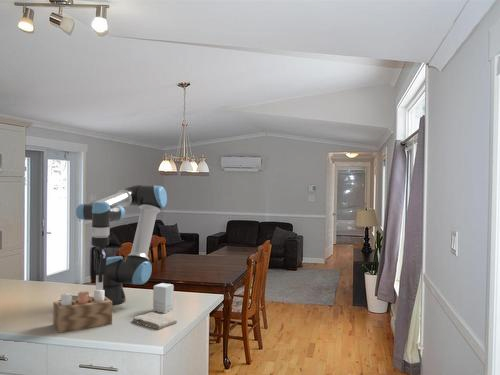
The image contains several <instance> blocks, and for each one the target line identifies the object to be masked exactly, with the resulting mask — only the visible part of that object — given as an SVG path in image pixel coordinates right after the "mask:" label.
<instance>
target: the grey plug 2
mask: <svg viewBox="0 0 500 375" xmlns="http://www.w3.org/2000/svg"><path fill="white" fill-rule="evenodd" d="M104 294H105V290H96V289H95V290H94V291H93V297H94V302H98V301H104Z"/></svg>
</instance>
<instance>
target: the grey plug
mask: <svg viewBox="0 0 500 375" xmlns="http://www.w3.org/2000/svg"><path fill="white" fill-rule="evenodd" d="M72 300H73V294H72V293H67V292H66V293H62V294H61V295H60V301H61V306H68V305H72Z"/></svg>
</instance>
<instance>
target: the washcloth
mask: <svg viewBox="0 0 500 375" xmlns="http://www.w3.org/2000/svg"><path fill="white" fill-rule="evenodd" d="M132 321H133V322H134V323H135V322H138V323H140V324H139V325H141V324H144V325H143V326H145V325H147V326H146V327H148V326H151V327H154V328H153V329H155V328H156V329H155V330H161V329H163V328H165V327H170V326H172V324H173V325H176V324H177V323H178V321H177V319H176V318H173V317H170V316H167V315H164V314H161V313H158V312H154V311H149V312H146V313H145V314H138V315H136V316H134V317H133V319H132ZM138 323H137V324H138ZM175 323H176V324H175ZM151 327H150V328H151Z"/></svg>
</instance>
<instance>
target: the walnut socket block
mask: <svg viewBox="0 0 500 375" xmlns="http://www.w3.org/2000/svg"><path fill="white" fill-rule="evenodd" d="M52 305H53V308H52V309H53V310H52V311H53V312H52V313H53V314H52V316H53V317H52V321H53V322H52V325H53V328H55V329H56V330H57V331H58V333H66V332H71V331H77V330H85V329H90V328H91V329H92V328H97V326H98V327H102V325H104V326H108V325H107V324H110V325H113V305H112V301H111V300H109V299H108V298H107V297H105V296H104V301H98V302H94V296H89V300H88V303H83V304H78V298H75V299H73V298H72V305H68V306H61V300H59V301H57V300H56V301H53V304H52Z"/></svg>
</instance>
